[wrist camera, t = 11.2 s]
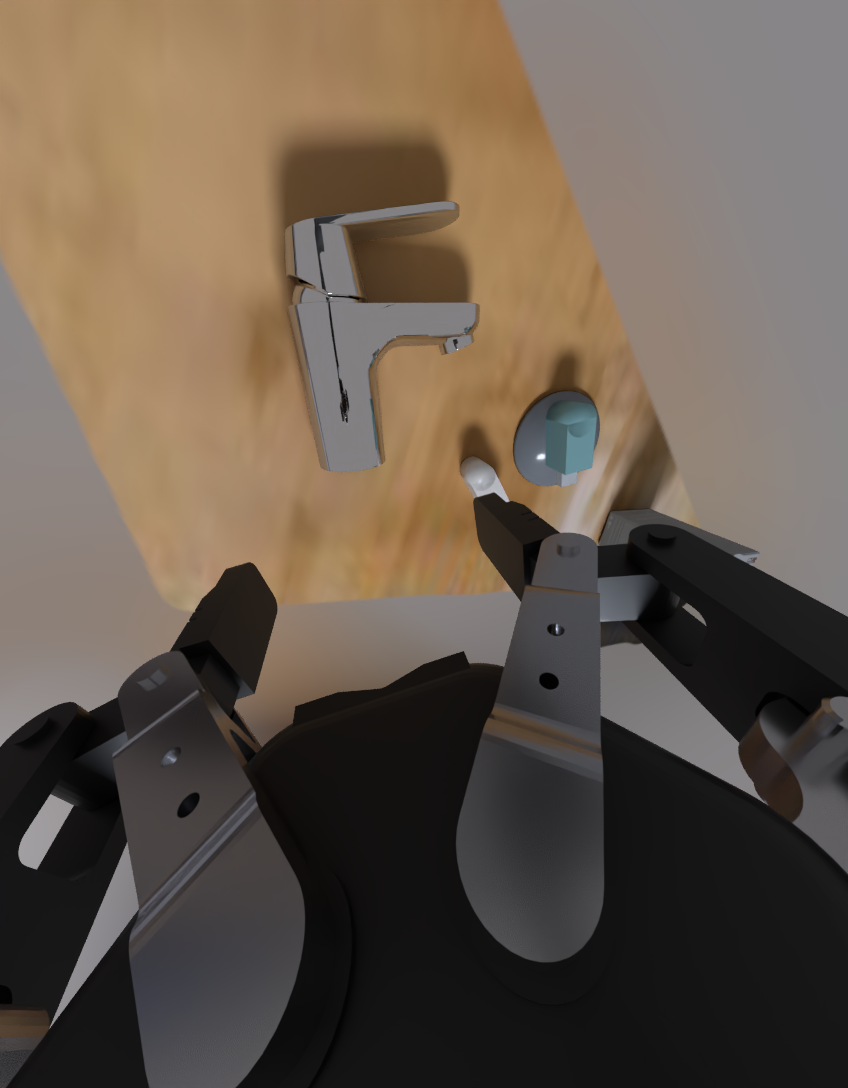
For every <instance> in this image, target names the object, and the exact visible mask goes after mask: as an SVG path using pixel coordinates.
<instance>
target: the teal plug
mask: <svg viewBox="0 0 848 1088" xmlns="http://www.w3.org/2000/svg"><path fill="white" fill-rule="evenodd" d="M596 420H597V412H596V409H595V408H594V406H592V405H591V404H586V403H579V402H573V401H566V400H559V401H557V402H555V403H554V404H553V405H552V406H551V407H550V408H549V410H548V412H547V415H546V457H545V465H546V466H548V467H550V468H552V469H554V470H556V471H558V472H557V485H559V486H560V487H564V486H567V485H571V484H574V483H577V472H579V471H582V470H586V469H589V468H592V463H593V452H594V442H595V431H596Z"/></svg>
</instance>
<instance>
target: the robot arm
mask: <svg viewBox="0 0 848 1088" xmlns="http://www.w3.org/2000/svg"><path fill="white" fill-rule="evenodd" d="M473 504H474V512H475V520H476V528H477V535H478V540H479V543H480V546H481V548H482V550H483V551H484V553H485V554H486V555H487V557H488V558H489V559H490V561H491V562H492V563H493V565H494V566H495V567H496V569H497V570H498V571H499V573H500V574H501V576H502V577H503V578H504V580H505V581H506V582H507V584H508V585H509V586H510V588H511V589H512V590H513V592H514V593H515V594H516V596H517V597H518V598H519V600H520V601H521V605H520V609H519V613H518V617H517V620H516V624H515V628H514V632H513V636H512V639H511V644H510V647H509V651H508V655H507V659H506V663H505V666H504V667H503V666H499V665H494V664H486V663H472V664H469V662H468V660H467V658H466V655H465V653H464V651H463V652H460V653H456V654H453V655H451V656H447V657H444V658H441V659H438V660H435V661H432V662H429V663H426V664H423V665H422V666H420V667H418V668H417V669H415V670H413V671H412V672H410V673H408V674H406V675H405V676H403V677H401V678H400V679H398V680H396V681H395V682H393V683H391V684H390V685H388V686H386V687H384V688H381V689H373V690H361V691H348V692H338V693H335V694H332V695H329V696H325V697H323V698H319V699H316V700H313V701H310V702H307V703H305V704H301V705H298V706H296V707H295V713H294V719H293V723H292V724H291V725H289V726H288V727H286V728H285V729H283V730H282V731H281V732H279V733H278V734H277V735H275V736H274V737H273V738H272V739H271V740H269V741H268V742H267V743H266V744H265V745H264V746H263V747H262V746H261V745H260V743H259V742H258V740H257V738H256V737H255V736H254V734H253V733H252V731H251V730H250V728H249V727H248V725H247V724H246V722H245V721H244V719H243V718H242V716H241V715H240V713H239V712H238V711H237V710H236V709H235V708H234V705H235V702H236V700H237V699H239V698H243V697H246V696H249V695H252V694H254V693H255V690H256V686H257V683H258V679H259V676H260V672H261V669H262V665H263V661H264V658H265V654H266V650H267V647H268V644H269V640H270V636H271V633H272V629H273V626H274V622H275V618H276V615H277V602H276V599H275V597H274V595H273V593H272V592H271V590H270V588H269V587H268V585H267V584H266V582H265V580H264V579H263V577H262V575H261V574H260V572H259V571H258V569H257V568H256V566H255V565H254V564H253V563H250V562H249V563H245V564H242V565H238V566H235V567H231V568H228V569H226V570H225V571H224V573H223V574H222V576H221V578H220V580H219V581H218V583H217V585H216V586H215V587H214V588H213V589H212V590H211V591H210V592H209V593H208V594H207V595H206V596H205V597H204V598H202V600H201V601H200V603H199V605H198V606H197V608H196V610H195V612H194V613H193V614H192V616H191V618H190V619H189V621H190V622H188V623H187V624H186V626H185V627H184V629H183V631H182V632H181V634H180V635H179V637H178V639H177V640H176V642H175V644H174V645H173V647H172V648H171V650H170V652H167V653H164V654H161V655H159V656H157V657H155V658H153V659H151V660H149V661H148V662H146V663H145V664H143V665H142V666H141V667H139V668H138V669H137V670H136V671H134V672H133V673H132V674H131V675H130V676H129V677H128V678H127V679H126V681H125V682H124V683H123V685H122V686H121V688H120V690H119V692H118V697H117V698H115V699H113V700H111V701H109V702H107V703H106V704H104V705H102V706H100V707H98V708H96V709H94V710H92V711H90V712H87V711H86V710H84V709H83V708H82V707H80V706H79V705H77V704H76V703H74V702H67V703H63V704H59V705H57V706H54V707H52V708H50V709H48V710H46V711H44V712H43V713H41V714H39V715H38V716H36V717H34V718H33V719H32V720H30V721H29V722H27V723H26V724H25V725H24V726H22V727H21V728H19V729H18V730H17V731H16V732H15V733H14V734H12V736H10V737H9V738H8V739H7V740H6V741H5V742H4V743H3V744H2V746H1V747H0V1088H848V617H847V616H845V615H843V614H842V613H840V612H838V611H836V610H834V609H832V608H830V607H828V606H826V605H825V604H823V603H821V602H819V601H817V600H815V599H813V598H812V597H810V596H808V595H806V594H804V593H802V592H800V591H798V590H797V589H795V588H793V587H791V586H789V585H787V584H785V583H783V582H782V581H780V580H778V579H776V578H774V577H772V576H770V575H768V574H766V573H765V572H763V571H761V570H759V569H757V568H755V567H753V566H752V565H750V564H748V563H746V562H744V561H742V560H740V559H738V558H737V557H735V556H733V555H731V554H729V553H727V552H725V551H723V550H722V549H720V548H718V547H716V546H714V545H712V544H710V543H708V542H707V541H705V540H703V539H701V538H699V537H697V536H695V535H693V534H692V533H690V532H688V531H686V530H684V529H681V528H678V527H675V526H670V525H664V524H647V525H641V526H638V527H636V528H634V529H632V530H631V531H630V533H629V537H628V543H627V544H616V545H605V546H597V544H596V543H595V542H594V541H593V540H592V539H591V538H589V537H587V536H584V535H581V534H576V533H559V532H558V531H557V530H556V529H554V528H553V527H552V526H550V525H549V524H548V523H547V522H545V521H544V520H543V519H542V518H539V516H538V515H536V514H535V513H534V512H533V513H532V511H531V510H530V509H529V508H527V507H526V506H525V505H523V504H520V503H517V502H513V501H510V502H506V501H504V500H503V499H502V498H501V497H500V496H499V495H497V494H496V493H495V492H493V493H490V494H486V495H483V496H479V497H476V498H474V501H473ZM680 598H681V599H683V600H684V601H685V602H687V603H688V604H689V605H691V606H692V607H693V608H695V609H696V610H697V611H698V612H699V613H700V614H701V615H702V617H703V618H704V620H705V622H706V625H707V626H705V625H704V624H703V623H702V622H700V621H699V620H698V619H696V618H695V617H694V616H693V615H691V614H690V613H689V612H687V611H686V610H685V609H684V608H682V607H681V606H680V605H679V604H678V602H679V599H680ZM600 621H621V622H622V623H623V624H624V625H625V626H626V627H627V628H628V629H629V630H630V631H631V632H632V633H633V634H634V635H635V636H636V637H637V638H638V639H639V640H640V641H641V642H642V643H643V644H644V645H645V646H646V647H647V648H648V649H649V650H650V652H652V654H653V655H654V656H655V657H656V658H657V659H658V660H659V661H660V662H661V663H662V664H663V665H664V666H665V667H666V668H667V669H668V670H669V671H670V672H671V673H672V674H673V675H674V676H675V677H676V678H677V679H678V680H679V681H680V682H681V683H682V684H683V685H684V687H686V689H687V690H688V691H689V692H690V693H691V694H692V695H693V696H694V697H695V698H696V699H697V700H698V701H699V702H700V703H701V704H702V705H703V706H704V707H705V708H706V709H707V710H708V711H709V712H710V713H711V714H712V715H713V716H714V717H715V718H716V719H717V720H718V721H719V722H720V723H721V725H723V727H725V729H726V730H727V731H728V732H729V733H731V735H732V736H733V737H734V738H735V739H736V740H737V741H738V742H739V746H738V753H739V758H740V761H741V764H742V766H743V768H744V769H745V771H746V773H747V774H748V776H749V777H750V779H751V780H752V781H753V783H754V787H755V790H756V792H757V793H758V795H759V796H760V798H761V799H762V800H763V801H764V802H765V803H766V804H765V803H763V802H762V801H760V800H758V799H757V798H755V797H753V796H751V795H750V794H748V793H746V792H745V791H743V790H741V789H739V788H737V787H735V786H733V785H731V784H729V783H727V782H726V781H724V780H722V779H720V778H718V777H716V776H714V775H712V774H711V773H709V772H707V771H705V770H702V769H701V768H699V767H697V766H695V765H694V764H691V763H690V762H688V761H686V760H684V759H682V758H680V757H678V756H676V755H674V754H673V753H671V752H669V751H667V750H665V749H663V748H661V747H659V746H658V745H656V744H654V743H652V742H650V741H648V740H646V739H644V738H642V737H641V736H638V735H637V734H635V733H633V732H631V731H629V730H627V729H625V728H624V727H622V726H620V725H618V724H616V723H614V722H612V721H610V720H608V719H607V718H605V717H603V716H601V715H600ZM50 794H52V795H54V796H56V797H58V798H60V799H62V800H64V801H66V802H68V803H70V804H72V805H74V806H73V808H72V810H71V812H70V813H69V815H68V817H67V819H66V820H65V822H64V824H63V825H62V827H61V829H60V831H59V832H58V834H57V836H56V838H55V839H54V841H53V843H52V845H51V846H50V848H49V850H48V852H47V853H46V855H45V857H44V858H43V860H42V862H41V864H40V865H39V867H38V869H37V870H36V869H33V868H30V867H27V866H25V865H23V864H22V863H21V862H20V860H19V856H18V850H19V845H20V842H21V839H22V838H23V836H24V834H25V832H26V831H27V829H28V828H29V826H30V824H31V823H32V822H33V820H34V818H35V817H36V815H37V814H38V812H39V811H40V809H41V807H42V806H43V804H44V803H45V801H46V800H47V798H48V797H49V795H50ZM767 804H768V805H767ZM127 842H128V848H129V854H130V859H131V865H132V870H133V875H134V881H135V887H136V892H137V898H138V904H139V910H138V911H137V913H136V914H135V915H134V916H133V918H132V919H131V920H130V922H129V923H128V925H127V926H126V927H125V928H124V930H123V931H122V933H121V934H120V935H119V937H118V938H117V939H116V941H115V942H114V943H113V945H112V946H111V948H110V949H109V950H108V951H107V953H106V954H105V955H104V957H103V958H102V959H101V961H100V962H99V963H98V965H97V966H96V967H95V969H94V970H93V972H92V973H91V974H90V975H89V977H88V978H87V980H86V981H85V982H84V984H83V985H82V986H81V988H80V989H79V990H78V992H77V993H76V994H75V996H74V997H73V998H72V1000H71V1001H70V1002H69V1004H68V1005H67V1006H66V1008H65V1009H64V1011H63V1012H62V1013H61V1014H60V1016H59V1017H58V1018H57V1020H56V1021H55V1022H54V1024H53V1025H52V1026H51V1028H50V1025H51V1023H52V1021H53V1018H54V1016H55V1013H56V1011H57V1009H58V1006H59V1004H60V1001H61V999H62V997H63V994H64V992H65V989H66V987H67V985H68V982H69V980H70V977H71V975H72V973H73V970H74V968H75V966H76V963H77V961H78V958H79V956H80V954H81V951H82V949H83V946H84V944H85V942H86V939H87V937H88V934H89V932H90V929H91V927H92V925H93V922H94V920H95V918H96V915H97V913H98V910H99V908H100V906H101V903H102V901H103V898H104V896H105V894H106V891H107V889H108V887H109V884H110V882H111V879H112V877H113V874H114V872H115V870H116V867H117V865H118V863H119V860H120V858H121V855H122V853H123V851H124V848H125V846H126V843H127ZM49 1028H50V1029H49Z"/></svg>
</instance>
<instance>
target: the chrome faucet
mask: <svg viewBox="0 0 848 1088" xmlns="http://www.w3.org/2000/svg"><path fill="white" fill-rule="evenodd" d="M459 212H460V207H459V204H457V203H455V202H451V201H441V202H433V203H425V204H417V205H409V206H401V207H393V208H385V209H377V210H370V211H362V212H354V213H346V214H338V215H330V216H322V217H314V218H309V219H305V220H301V221H298V222H296V223H294V224H292V225H290V226H289V227H288V228H287V229H286V230H285V260H286V277H287V278H288V279H289V281H290V282H292V283H293V284H294V285H295V288H294V291H293V296H292V305H291V306H288V307H287V314H288V318H289V323H290V328H291V332H292V337H293V342H294V346H295V351H296V356H297V360H298V365H299V370H300V374H301V379H302V384H303V388H304V393H305V398H306V402H307V407H308V412H309V416H310V421H311V426H312V430H313V435H314V440H315V444H316V449H317V454H318V458H319V463H320V467H321V468H322V469H324V470H326V471H332V472H353V471H361V470H366V469H371V468H374V467H377V466H379V465H381V464H383V463H384V462H385V460H386V459H385V450H384V440H383V431H382V421H381V412H380V402H379V393H378V383H377V367H378V364H379V362H380V360H381V359H382V358H383V356H384V355H385V354H386V353H387V352H388V351H389V350H391V349H392V348H395V347H401V346H428V345H439V349H440V352H441V355H445V354H449V353H451V352H454V351H457V350H459V349H461V348H463V347H466V346H468V345H470V344H471V343H473V342H474V337H473V332H474V331H475V330H476V328H477V326H478V324H479V319H480V305H479V304H476V303H366V302H368V299H367V295H366V292H365V288H364V284H363V280H362V276H361V273H360V269H359V265H358V261H357V257H356V254H355V250H354V246H353V243H358V242H365V241H372V240H379V239H387V238H394V237H401V236H408V235H415V234H423V233H428V232H432V231H435V230H438V229H441V228H444V227H446V226H448V225H450V224H452V223H453V222H455V221H456V220H457V219H458V217H459Z"/></svg>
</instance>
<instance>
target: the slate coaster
mask: <svg viewBox="0 0 848 1088" xmlns="http://www.w3.org/2000/svg"><path fill="white" fill-rule="evenodd" d="M559 400H566V401H573V402H579V403H586V404H591V405H592V406H594V408H595V409H596V407H595V405H594V404H593V402H592V401H591V400H590V399H589V398H588V397H586V396H585V395H583V394H581V393H578V392H573V391H560V392H556V393H553V394H550V395H548V396H546V397H544V398H543V399H541V400H539V401H538V402H537V403H536V404H535V405H533V407H532V408H531V409H530V410H529V411H528V412H527V413H526V415H525V416H524V418H523V419H522V421H521V423H520V425H519V427H518V429H517V432H516V435H515V439H514V445H513V456H514V461H515V465H516V467H517V469H518V471H519V473H520V474H521V475H522V476H523V477H524V478H525V479H526V480H528V481H530V482H531V483H533V484H536V485H540V486H553V485H557V472H558V471H556V470H554V469H552V468H550V467H548V466H546V465H545V457H546V415H547V412H548V410H549V408H550V407H551V406H552V405H553V404H554V403H555V402H557V401H559ZM596 412H597V409H596ZM599 431H600V421H599V415H598V412H597V420H596V431H595V442H594V449H595V447H596V444H597V441H598V437H599ZM577 473H578V472H577Z"/></svg>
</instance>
